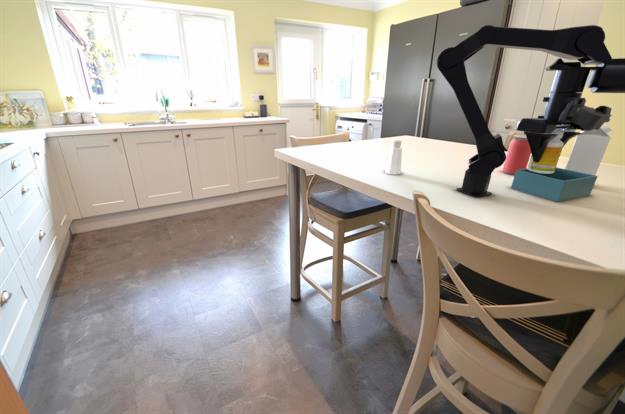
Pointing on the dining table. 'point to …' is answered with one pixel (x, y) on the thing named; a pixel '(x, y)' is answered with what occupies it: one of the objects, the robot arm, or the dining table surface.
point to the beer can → (517, 155)
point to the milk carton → (589, 150)
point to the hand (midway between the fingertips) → (543, 161)
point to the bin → (554, 184)
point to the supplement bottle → (548, 156)
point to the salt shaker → (394, 159)
